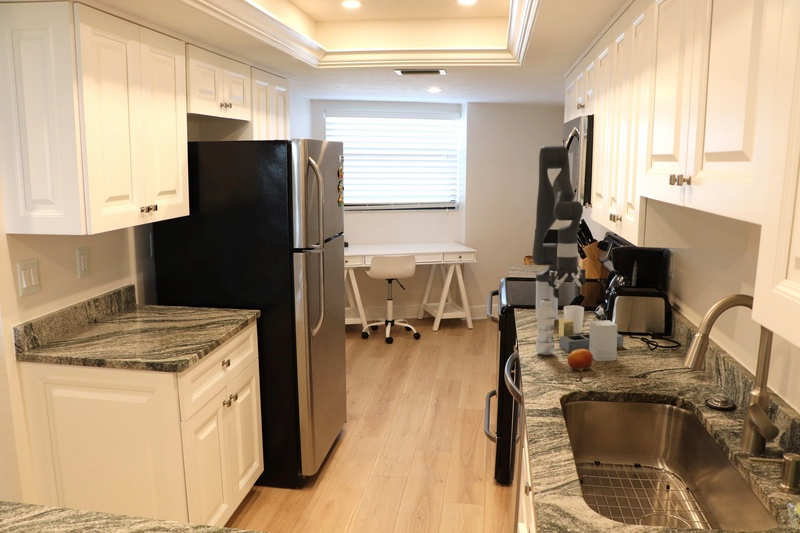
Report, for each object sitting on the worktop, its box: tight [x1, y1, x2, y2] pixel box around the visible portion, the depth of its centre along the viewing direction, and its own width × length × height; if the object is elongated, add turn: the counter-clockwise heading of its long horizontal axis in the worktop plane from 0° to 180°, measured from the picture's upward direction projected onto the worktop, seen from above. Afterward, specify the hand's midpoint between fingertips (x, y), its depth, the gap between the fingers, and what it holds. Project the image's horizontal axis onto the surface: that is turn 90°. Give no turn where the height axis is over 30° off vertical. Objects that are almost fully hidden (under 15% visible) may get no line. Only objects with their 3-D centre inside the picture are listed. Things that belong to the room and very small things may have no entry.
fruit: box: [567, 349, 593, 372], centre depth 212 cm, size 8×8×8 cm
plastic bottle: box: [535, 299, 556, 356], centre depth 228 cm, size 6×7×20 cm
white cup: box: [563, 304, 585, 335], centre depth 257 cm, size 8×8×10 cm
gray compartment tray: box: [559, 333, 624, 353], centre depth 236 cm, size 7×22×4 cm, turn 103°
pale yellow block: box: [558, 318, 574, 341], centre depth 244 cm, size 4×4×8 cm
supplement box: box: [589, 319, 618, 362], centre depth 222 cm, size 7×7×13 cm
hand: (566, 296), depth 242 cm, fingers open, 8 cm apart
